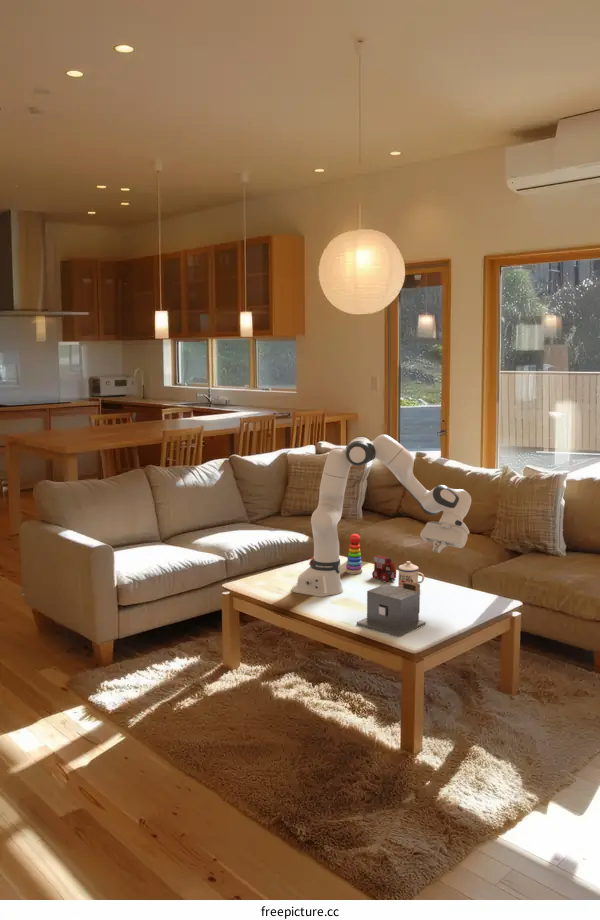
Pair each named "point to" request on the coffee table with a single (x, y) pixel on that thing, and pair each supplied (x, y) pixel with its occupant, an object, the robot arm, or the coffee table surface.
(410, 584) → the shaft
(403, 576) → the teacup with lid
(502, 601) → the coffee table surface
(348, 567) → the stacking toy
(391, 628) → the bearing block
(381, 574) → the toy fire truck
